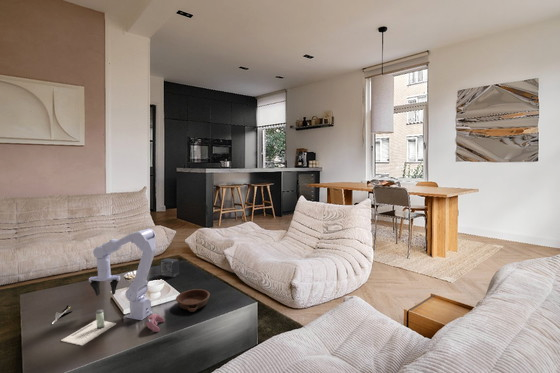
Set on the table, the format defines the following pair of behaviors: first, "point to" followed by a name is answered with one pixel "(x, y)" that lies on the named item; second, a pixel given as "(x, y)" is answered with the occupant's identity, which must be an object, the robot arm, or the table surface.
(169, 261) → the small box
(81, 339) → the notepad
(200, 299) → the dish
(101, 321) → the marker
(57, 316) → the scissors
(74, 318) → the table surface
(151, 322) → the video game controller
